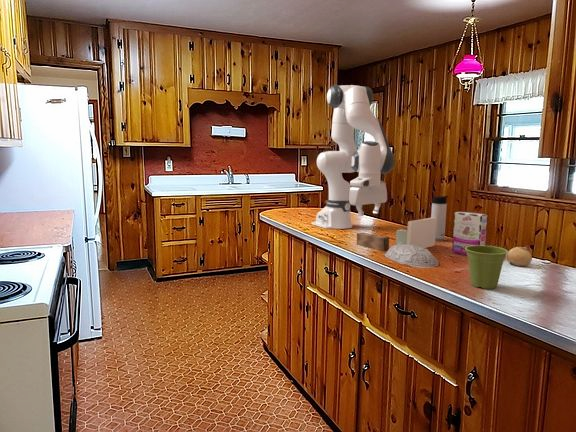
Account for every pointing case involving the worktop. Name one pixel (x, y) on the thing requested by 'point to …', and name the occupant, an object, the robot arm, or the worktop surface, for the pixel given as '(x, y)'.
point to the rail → (373, 241)
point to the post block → (418, 233)
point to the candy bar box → (468, 231)
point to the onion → (519, 256)
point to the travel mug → (439, 216)
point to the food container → (411, 255)
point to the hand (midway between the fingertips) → (368, 214)
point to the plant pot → (485, 265)
